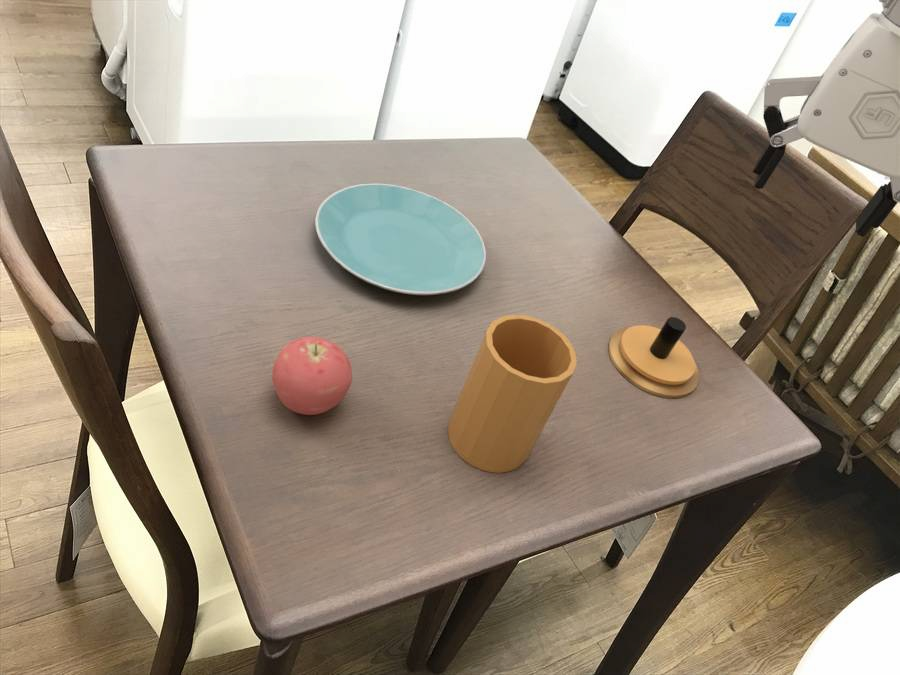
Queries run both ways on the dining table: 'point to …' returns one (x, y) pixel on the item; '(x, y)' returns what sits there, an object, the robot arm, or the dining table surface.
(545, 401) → the cup
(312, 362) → the apple
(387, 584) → the dining table surface
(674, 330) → the shaker lid
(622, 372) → the coaster
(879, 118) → the robot arm
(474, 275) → the plate
